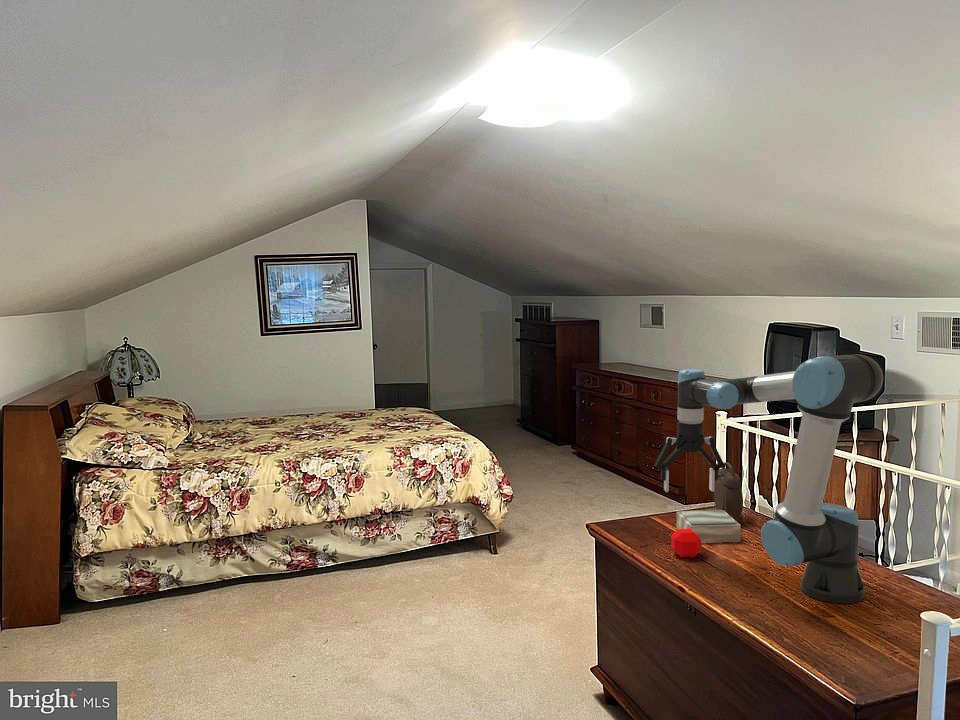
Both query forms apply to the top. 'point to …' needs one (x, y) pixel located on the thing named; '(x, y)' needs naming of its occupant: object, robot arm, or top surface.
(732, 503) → the brown backpack
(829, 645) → the top surface
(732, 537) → the stand
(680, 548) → the ball
